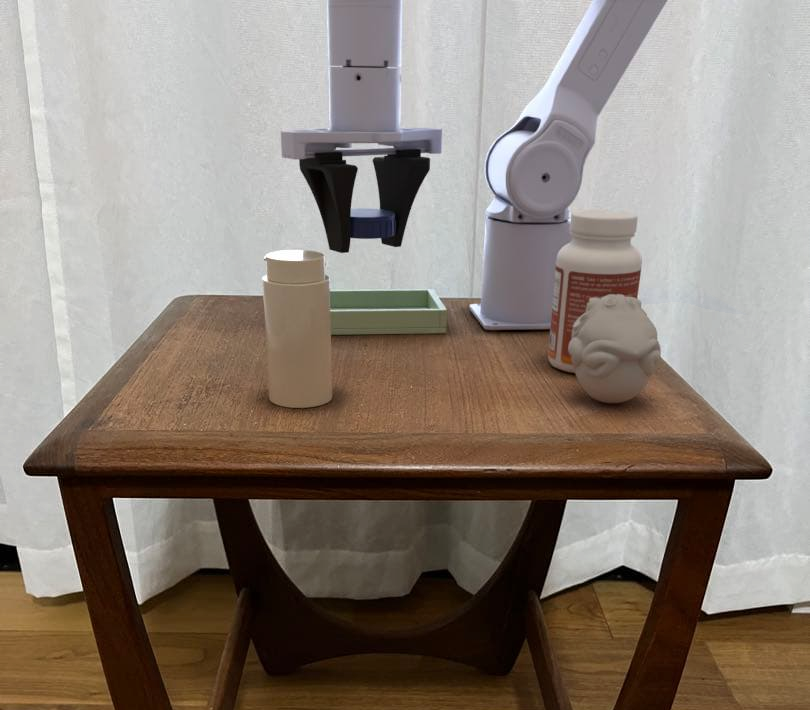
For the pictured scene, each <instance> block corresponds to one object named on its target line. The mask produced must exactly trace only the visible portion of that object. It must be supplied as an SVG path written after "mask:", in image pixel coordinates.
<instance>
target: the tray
mask: <svg viewBox="0 0 810 710" xmlns="http://www.w3.org/2000/svg"><path fill="white" fill-rule="evenodd" d="M330 312H331V336H347V335H348V336H349V335H350V336H352V335H354V336H355V335H356V336H357V335H416V334H417V335H418V334H420V335H422V334H423V335H424V334H427V335H428V334H429V335H430V334H447V323H448V309H447V308H446V306H445V305H444V303H443V302H442V301H441V299H440V297H439V296H438V295H437V292H436V291H435V289H433V288H403V289H402V288H393V289H392V288H391V289H389V288H388V289H387V288H386V289H385V288H383V289H330Z"/></svg>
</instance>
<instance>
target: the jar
mask: <svg viewBox="0 0 810 710" xmlns="http://www.w3.org/2000/svg"><path fill="white" fill-rule="evenodd" d="M263 261H264V262H265V269H266V270H265V271H266V275H264V276H262V278H261V282H262V283H261V284H262V285H261V286H262V300H263V301H262V302H263V314H264V315H263V316H264V318H263V319H264V337H265V351H266V370H267V384H268V399H269V401H270V402H271V404H274V405H277V406H279V407H284V408H291V409H307V408H315V407H319V406H320V407H321V406H322V405H323V406H324V405H326V404H327V403H330V402H331V401H332V399H333V364H332V363H333V362H332V361H333V359H332V335H331V312H330V290H331V277H330V276H329V275H327V274H326V266H327V262H325V261H326V260H325V254H324V253H322V252H319V251H315V250H306V249H305V250H304V249H284V250H276V251H271V252H269V253H266V254H265V255H264V256H263Z"/></svg>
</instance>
